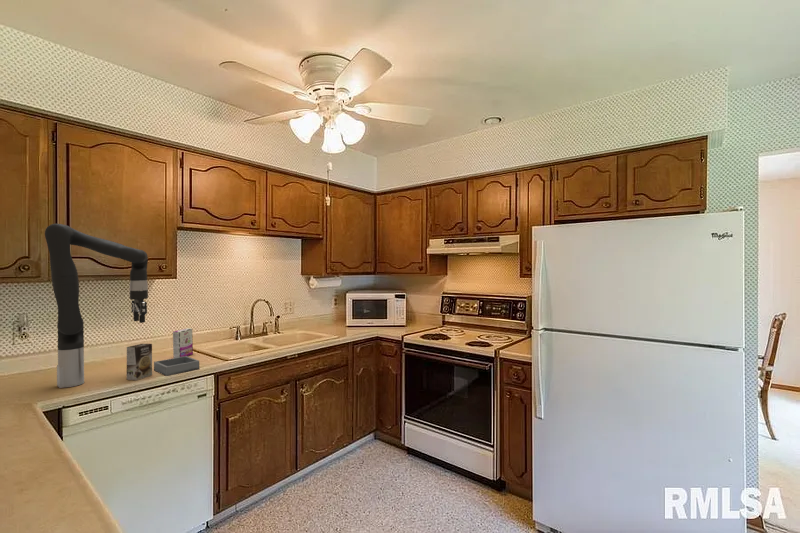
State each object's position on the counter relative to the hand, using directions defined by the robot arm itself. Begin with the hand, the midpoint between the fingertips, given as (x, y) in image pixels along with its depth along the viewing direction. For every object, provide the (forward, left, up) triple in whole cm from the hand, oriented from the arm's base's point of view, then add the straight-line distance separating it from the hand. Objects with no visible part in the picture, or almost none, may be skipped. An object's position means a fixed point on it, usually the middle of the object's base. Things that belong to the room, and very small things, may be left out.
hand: (139, 321), depth 187 cm
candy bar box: (+31, +28, -28) cm, 50 cm away
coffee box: (0, 0, -28) cm, 28 cm away
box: (+17, 0, -28) cm, 33 cm away
